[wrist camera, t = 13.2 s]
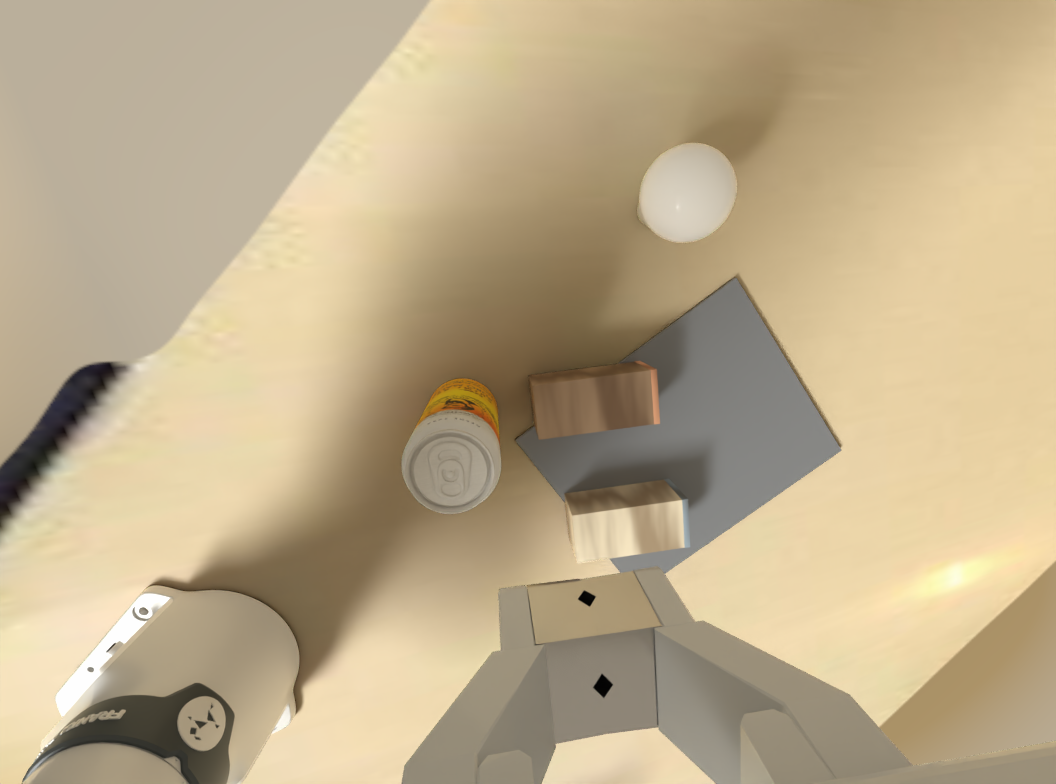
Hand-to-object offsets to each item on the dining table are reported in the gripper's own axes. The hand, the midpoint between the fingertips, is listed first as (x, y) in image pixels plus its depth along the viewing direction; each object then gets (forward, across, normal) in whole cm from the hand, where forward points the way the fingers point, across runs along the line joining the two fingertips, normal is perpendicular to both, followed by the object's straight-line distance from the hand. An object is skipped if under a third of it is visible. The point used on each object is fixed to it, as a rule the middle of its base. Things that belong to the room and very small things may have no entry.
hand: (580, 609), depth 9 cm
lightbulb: (+35, -14, -11) cm, 39 cm away
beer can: (+35, +4, +4) cm, 36 cm away
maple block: (+32, -14, +16) cm, 38 cm away
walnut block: (+32, -12, +4) cm, 34 cm away
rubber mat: (+35, -16, +10) cm, 39 cm away
